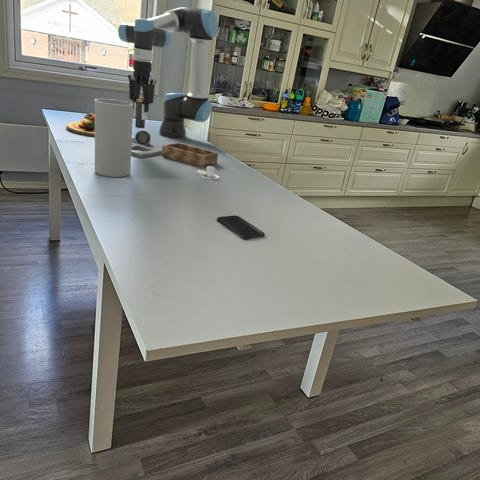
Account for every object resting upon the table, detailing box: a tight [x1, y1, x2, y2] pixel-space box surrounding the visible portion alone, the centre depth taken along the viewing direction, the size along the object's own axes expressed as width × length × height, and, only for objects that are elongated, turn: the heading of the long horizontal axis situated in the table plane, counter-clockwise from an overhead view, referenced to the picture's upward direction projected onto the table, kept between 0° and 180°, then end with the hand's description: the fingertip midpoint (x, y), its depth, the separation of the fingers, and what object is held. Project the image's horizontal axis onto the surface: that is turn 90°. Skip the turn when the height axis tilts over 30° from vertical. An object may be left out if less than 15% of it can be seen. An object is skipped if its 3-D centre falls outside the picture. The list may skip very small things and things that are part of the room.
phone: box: [216, 214, 266, 241], centre depth 118 cm, size 8×1×15 cm
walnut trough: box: [161, 142, 219, 168], centre depth 183 cm, size 22×12×5 cm, turn 62°
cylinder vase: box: [94, 98, 134, 178], centre depth 144 cm, size 12×12×25 cm
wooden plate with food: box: [66, 112, 95, 138], centre depth 212 cm, size 32×32×8 cm
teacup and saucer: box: [197, 165, 220, 180], centre depth 164 cm, size 9×8×4 cm
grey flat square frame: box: [131, 143, 162, 159], centre depth 184 cm, size 15×15×2 cm
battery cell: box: [135, 96, 146, 129], centre depth 177 cm, size 4×4×13 cm
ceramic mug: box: [132, 128, 151, 146], centre depth 199 cm, size 10×8×7 cm
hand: (140, 118), depth 178 cm, fingers closed on battery cell, 4 cm apart
